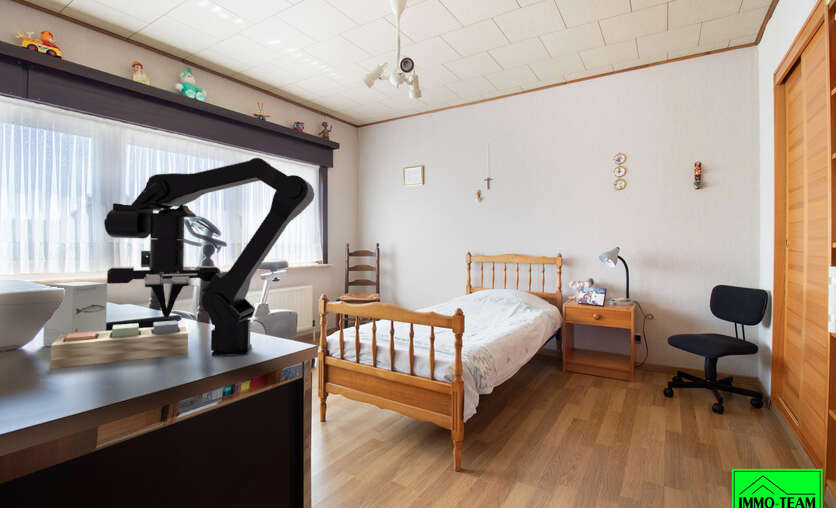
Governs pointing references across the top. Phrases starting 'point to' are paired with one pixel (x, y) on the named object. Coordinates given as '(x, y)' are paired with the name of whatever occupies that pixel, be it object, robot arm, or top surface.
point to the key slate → (165, 327)
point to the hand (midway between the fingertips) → (166, 317)
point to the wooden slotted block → (117, 347)
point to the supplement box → (78, 310)
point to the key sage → (125, 330)
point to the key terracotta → (81, 336)
